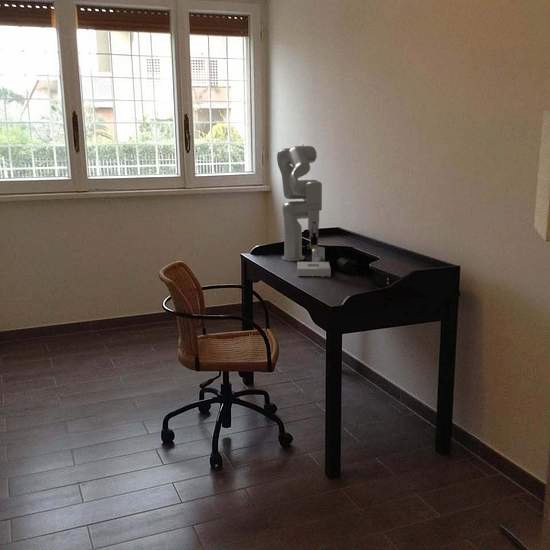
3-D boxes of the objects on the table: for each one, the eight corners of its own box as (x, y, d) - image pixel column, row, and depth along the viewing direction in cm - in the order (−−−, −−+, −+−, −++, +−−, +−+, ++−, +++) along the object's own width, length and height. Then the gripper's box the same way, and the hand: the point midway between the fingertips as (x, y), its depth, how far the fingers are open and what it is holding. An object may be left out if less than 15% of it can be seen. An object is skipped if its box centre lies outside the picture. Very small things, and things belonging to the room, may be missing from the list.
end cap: (336, 270, 322) (336, 257, 320) (349, 269, 323) (350, 256, 322) (343, 274, 312) (343, 261, 311) (356, 274, 314) (357, 260, 312)
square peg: (309, 247, 314) (309, 227, 312) (317, 247, 314) (317, 227, 312) (310, 249, 310) (310, 228, 308) (318, 249, 310) (318, 228, 308)
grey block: (311, 265, 333) (311, 246, 330) (324, 265, 332) (324, 246, 330) (312, 268, 326) (312, 249, 324) (324, 268, 326) (325, 249, 324)
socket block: (297, 269, 324) (297, 261, 323) (328, 269, 323) (328, 261, 322) (297, 276, 308) (297, 268, 307) (330, 276, 308) (330, 268, 307)
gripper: (305, 205, 316) (305, 241, 320) (306, 209, 300) (306, 247, 304) (320, 205, 316) (320, 241, 320) (322, 209, 300) (322, 247, 304)
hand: (313, 243), depth 312 cm, fingers closed on square peg, 4 cm apart
